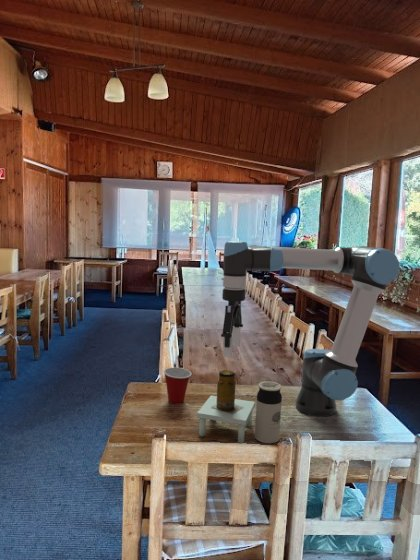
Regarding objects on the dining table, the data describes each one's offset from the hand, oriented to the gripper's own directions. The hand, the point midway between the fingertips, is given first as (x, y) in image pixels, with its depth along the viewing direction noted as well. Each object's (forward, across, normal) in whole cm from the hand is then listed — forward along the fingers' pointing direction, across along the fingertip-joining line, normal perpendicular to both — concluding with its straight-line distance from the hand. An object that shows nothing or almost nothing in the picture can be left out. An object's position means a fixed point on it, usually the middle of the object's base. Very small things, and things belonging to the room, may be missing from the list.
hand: (231, 351), depth 150 cm
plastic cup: (+27, -15, -24) cm, 39 cm away
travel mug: (+27, +4, +14) cm, 31 cm away
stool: (+27, +2, 0) cm, 27 cm away
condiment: (+19, +3, 0) cm, 19 cm away
